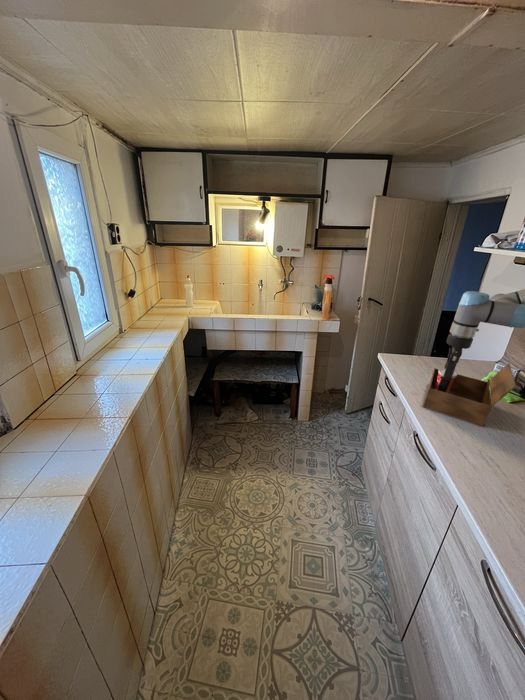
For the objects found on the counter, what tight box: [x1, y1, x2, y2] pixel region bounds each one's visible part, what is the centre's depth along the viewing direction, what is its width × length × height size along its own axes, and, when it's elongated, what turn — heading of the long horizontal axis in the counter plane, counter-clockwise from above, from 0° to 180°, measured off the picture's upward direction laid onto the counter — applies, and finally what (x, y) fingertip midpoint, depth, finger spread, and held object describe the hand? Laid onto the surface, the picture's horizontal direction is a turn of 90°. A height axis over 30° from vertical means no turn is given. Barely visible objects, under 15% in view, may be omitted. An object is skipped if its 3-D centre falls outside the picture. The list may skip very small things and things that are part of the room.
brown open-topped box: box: [422, 367, 493, 427], centre depth 108 cm, size 19×20×8 cm
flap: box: [488, 362, 517, 406], centre depth 99 cm, size 9×20×1 cm
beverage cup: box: [435, 367, 458, 393], centre depth 108 cm, size 6×6×14 cm
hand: (441, 389), depth 111 cm, fingers closed on beverage cup, 6 cm apart
